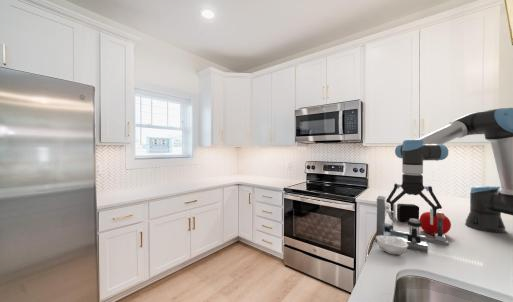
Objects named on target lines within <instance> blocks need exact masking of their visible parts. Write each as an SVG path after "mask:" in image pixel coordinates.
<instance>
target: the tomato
mask: <svg viewBox="0 0 513 302" xmlns="http://www.w3.org/2000/svg"><path fill="white" fill-rule="evenodd" d="M419 220H420V222H422V224H421V227H420V228H421V229H422V231H424V232H426V233H428V234H430V235H435V233H436V234H437V231H438V218H437V217H433V225H431V224H430V211H425V212H422V214H421V215H419ZM451 228H452V223H451V220H450V219H449V217H448V216H447V215H445V218H444V219H443V235H445V234H447V233H449V231H450V230H451Z"/></svg>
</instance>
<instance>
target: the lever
mask: <svg viewBox="0 0 513 302" xmlns="http://www.w3.org/2000/svg"><path fill="white" fill-rule="evenodd" d="M445 216H446V215H445V213H443V212H441V211H439V212H436V217H437V218H438V231H437V234H436V233H435V235H434V237H433V238H435V240H439V241H444V242H446V241H447V239H446V238H447V237H446V236H445V234H443V219H444V218H445Z"/></svg>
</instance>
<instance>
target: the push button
mask: <svg viewBox="0 0 513 302" xmlns="http://www.w3.org/2000/svg"><path fill="white" fill-rule="evenodd" d="M407 222H408V223H407V225H408V226H409V232H408V233H409V234H408V237H407V236H403V237H407V238H408V239H407V238H403V239H407V240H408V241H411V242H415V243H421V237H420V228H421V224H422V222H420V220H418V219H414V218H410V220H407Z"/></svg>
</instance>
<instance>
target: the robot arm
mask: <svg viewBox="0 0 513 302" xmlns="http://www.w3.org/2000/svg"><path fill="white" fill-rule="evenodd" d="M472 135H474V136H475V135H484V139H485V140H486V141H488V142H490V145H491V149H492V153H493V156H494V157H493V158H494V160H495V161H494V162H495V165H496V171H497V174H498V178H499V182H500V186H496V185H494V186H493V185H491V186H490V185H475V186H471V188H470V193H469V194H470V197H469V198H470V201H469V203H470V204H469V205H470V207H469V213H468V215H467V218H465V225H466V226H467V227H469V228H472V229H475V230H479V231H482V232H483V231H484V232H487V233H495V234H497V233H498V234H500V233H501V234H502V233H505V232H506V225H505V224H504V221H503V219H502V216H501V215H502V214H504V215H508V216H513V107H503V108H501V107H500V108H496V109H495V108H494V109H489V110H482V111H475V112H471V113H469V114H466V115H463V116H461V117H458V118H457V119H454V120H452V121H449V123H448V124H447V125H446V126H444V127H442V128H439V129H437V130H435V131H433V132H431V133H429V134H426V135H424V136H421V137H419V138H418V139H404V140H403V141H402V144H398V145H397V146H396V147H395V148H394V149H395V150H394V153H395V156H396V157H397V158H399V159H402V164H401V165H402V166H401V167H402V169H401V171H402V176H401V180H402V182H401V183H396V182H395V183H394V184H393V185H394V187H393V188H392V190H391V192H390V194H389V195H388V197H387V198H386V199H385V203H388V204H390V211H392V212H393V219H395V218H396V219H397V204H396V202H398V201H399V200H400V199H401V198H402V197H403V196H405V195H406V194H407V195H408V196H411V195H412V196H418V195H419V196H420V197H421V198H422V199H423V201H425V202H426V204H428V205H429V206H430V208H429V212H430V224H431V225H433V217H436V213H437V210H439V209H443V206H442V205H441V203H440V201H439V200H438V198H437V196H436V195H435V193H434V192H433V187H432V185H424V175H422V174H424V161H437V162H439V161H443V160H445V159H447V158H448V156H449V149H448V147H447V146H446V145H445V144H446V143H448V142H450V141H452V140H455V139H458V138H459V139H461V138H464V137H466V136H472ZM400 188H401V189H402V191H401V192H400V193H399V194H398V195H396V196H395V197H394V198H393V196H394V195H395V193H396V191H397V190H398V189H400ZM424 190H426V192H428V193H429V194H430V196H431V197H432V199H433V201H434V203H433V202H432V201H431V200H430V199H429V198H428V197H427V196H426V195H425V194H424V192H423V191H424ZM392 198H393V199H392Z"/></svg>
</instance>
